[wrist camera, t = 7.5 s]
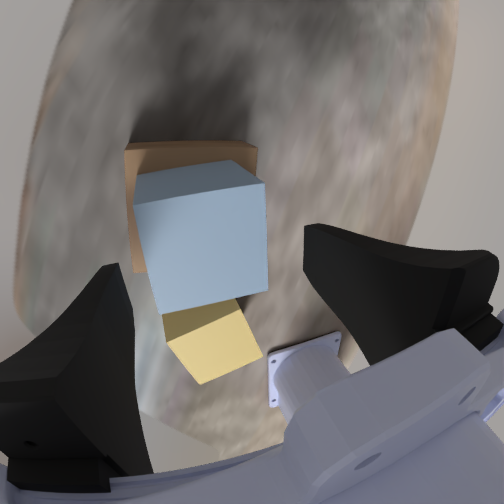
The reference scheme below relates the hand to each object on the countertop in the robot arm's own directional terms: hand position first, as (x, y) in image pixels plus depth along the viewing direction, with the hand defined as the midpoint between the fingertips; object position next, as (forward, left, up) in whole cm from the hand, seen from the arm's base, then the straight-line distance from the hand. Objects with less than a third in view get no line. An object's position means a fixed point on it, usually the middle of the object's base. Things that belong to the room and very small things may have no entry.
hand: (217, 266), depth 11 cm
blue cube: (0, 0, -6) cm, 6 cm away
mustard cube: (-9, 0, -9) cm, 13 cm away
